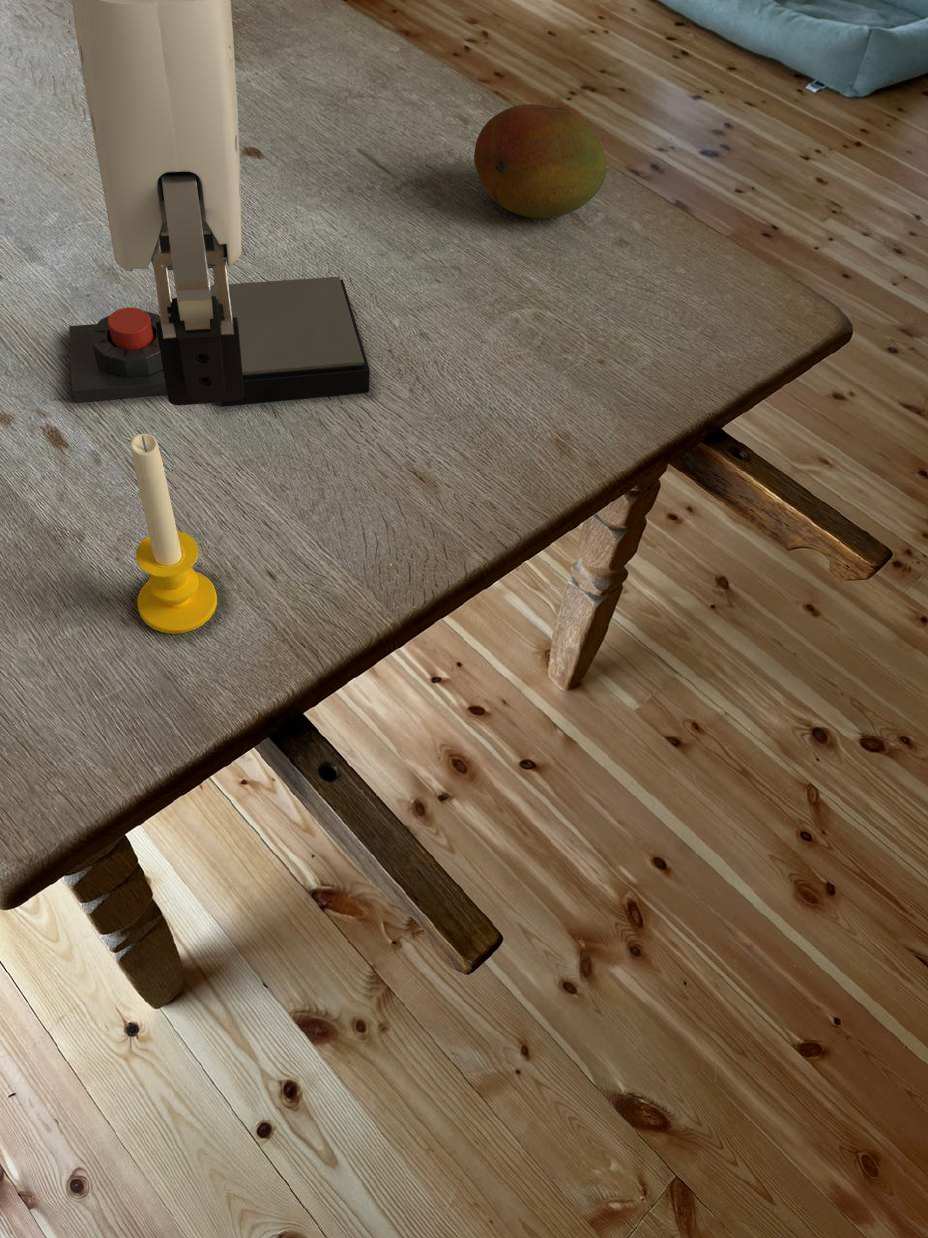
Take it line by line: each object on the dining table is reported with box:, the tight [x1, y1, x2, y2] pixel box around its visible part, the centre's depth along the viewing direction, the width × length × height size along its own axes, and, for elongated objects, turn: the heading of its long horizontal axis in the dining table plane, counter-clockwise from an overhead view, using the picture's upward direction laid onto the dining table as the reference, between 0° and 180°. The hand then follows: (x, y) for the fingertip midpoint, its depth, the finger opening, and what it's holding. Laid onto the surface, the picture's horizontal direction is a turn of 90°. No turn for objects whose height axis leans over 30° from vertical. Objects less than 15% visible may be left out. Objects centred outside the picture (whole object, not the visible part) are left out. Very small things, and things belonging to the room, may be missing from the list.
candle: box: [129, 433, 218, 635], centre depth 62 cm, size 5×5×16 cm
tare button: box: [108, 307, 153, 350], centre depth 79 cm, size 3×3×2 cm
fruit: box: [473, 103, 607, 219], centre depth 98 cm, size 12×13×10 cm
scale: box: [210, 276, 371, 407], centre depth 84 cm, size 12×12×3 cm
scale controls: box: [68, 310, 168, 404], centre depth 81 cm, size 10×8×3 cm
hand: (197, 327), depth 46 cm, fingers open, 9 cm apart
